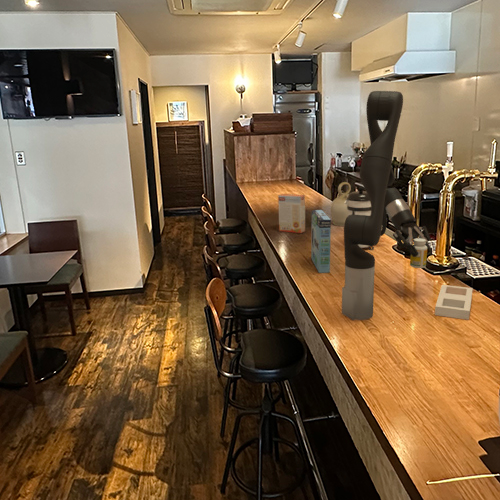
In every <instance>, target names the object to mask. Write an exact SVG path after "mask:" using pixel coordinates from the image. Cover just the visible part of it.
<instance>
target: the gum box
mask: <svg viewBox="0 0 500 500" xmlns="http://www.w3.org/2000/svg"><path fill="white" fill-rule="evenodd" d="M331 224H332V218H330V217H329V216H328V215H327V214H326V213H325V211H323V210H322V209H315V210H311V241H310V242H311V248H310V249H311V251H310V252H311V260H312V263H313V265H314V266H315V268H316V270H317V272H318V273H319V274H327V273H328V274H329V273H330V272H331V233H332V232H331V230H332V229H331V227H332V225H331Z"/></svg>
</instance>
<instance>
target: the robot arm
mask: <svg viewBox="0 0 500 500" xmlns="http://www.w3.org/2000/svg"><path fill="white" fill-rule="evenodd" d="M403 104H404V97H403V93H402V92H400V91H397V90H396V91H395V90H372V91H371V92H370V93H369V94H368V96H367V100H366V108H365V109H366V111H365V112H366V119H367V120H366V121H367V129H368V135H369V140H370V141H369V142H370V145H369V146H368V147H367V149H366V150H365V151H364V153H363V155H362V159H361V162H360V163H361V164H360V167H359V169H360V171H359V178H360V182H361V184H362V187H363V189H364V191H366V192H367V194H368V196H369V199H370V202H371V215H370V216H367V215H349V216H348V217H347V218H346V220H345V224H344V226H343V247H344V249H343V250H344V251H343V253H344V286H342V287H341V315H343V316H345V317H347V318H348V319H350V320H351V321H356V320H357V321H365V320H369V319H371V318H373V315H374V298H375V297H374V296H375V269H376V268H375V266H376V262H375V261H376V258H375V256H374V255H373V254H372V253H370V252H368V251H366V250H364V249H363V248H360V247H359V245H368V246H369V247H371V246H373V247H374V246H376V245H378V243H379V241H380V239H381V237H382V236H381V230H382V220H383V210H384V207H385V209H386V212H387V216H388V219H390V221H391V223H392V224H393V227H394V229H395V232H394V233H393V234H392V236H393V238H394V239H395V240H396V242H397V243H398V244H399V245H400V247H401V248H403V249H404V248H406V249H408V252H409V253H410V256H411V255H412V256H413V257H416V256H417V255H418V252H417V250H416V248H415V246H414V242H413V240H414V239H416V238H421V239H425V240H426V244H425V245H426V246H427V255H429V254H431V253H432V248H431V246H430V245H429V243H428V242H429V241H431V240H432V239H431V235H430V234H429V231H428V229H427V227H426V226H425V225H423V226H419V225H417V222H416V221H417V219H416V217H415V216H414V214H413V212H412V211H411V209H410V207H409V205H408V203H407V202H406V201H405V200H404V198H403V196H402V195H401V193H400V192H399V190H398V189H397V188H396V187H389V186H392V185H393V184H394V182H395V180H396V176H395V172H394V170H393V167H392V163H393V155H394V148H395V141H396V137H397V136H396V135H397V132H398V127H399V123H400V120H401V115H402V111H403V107H404V106H403ZM379 122H387V123H386V124H385V127H384V129H383V130H382V128H381V126H380V125H379ZM380 236H381V237H380Z"/></svg>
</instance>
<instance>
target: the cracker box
mask: <svg viewBox="0 0 500 500" xmlns="http://www.w3.org/2000/svg"><path fill="white" fill-rule="evenodd" d="M277 197H278V199H277V201H278V231H279V232H285V233H294V234H295V233H296V234H302V233H304V232H306V195H305V194H293V193H292V194H291V193H282V194H281V193H280V194H278V196H277Z"/></svg>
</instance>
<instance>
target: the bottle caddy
mask: <svg viewBox="0 0 500 500" xmlns="http://www.w3.org/2000/svg"><path fill="white" fill-rule="evenodd" d="M439 290H440V291H439V294H438V296H437V301H436V303H435V307H434V308H435V309H434V315H435V316H438V317H439V316H440V317H448V318H452V319H461V320H467V321H469V320H470V314H471V306H472V297H473V287H467V286H466V287H464V286H458V285H447V284H441V286H440V289H439Z"/></svg>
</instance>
